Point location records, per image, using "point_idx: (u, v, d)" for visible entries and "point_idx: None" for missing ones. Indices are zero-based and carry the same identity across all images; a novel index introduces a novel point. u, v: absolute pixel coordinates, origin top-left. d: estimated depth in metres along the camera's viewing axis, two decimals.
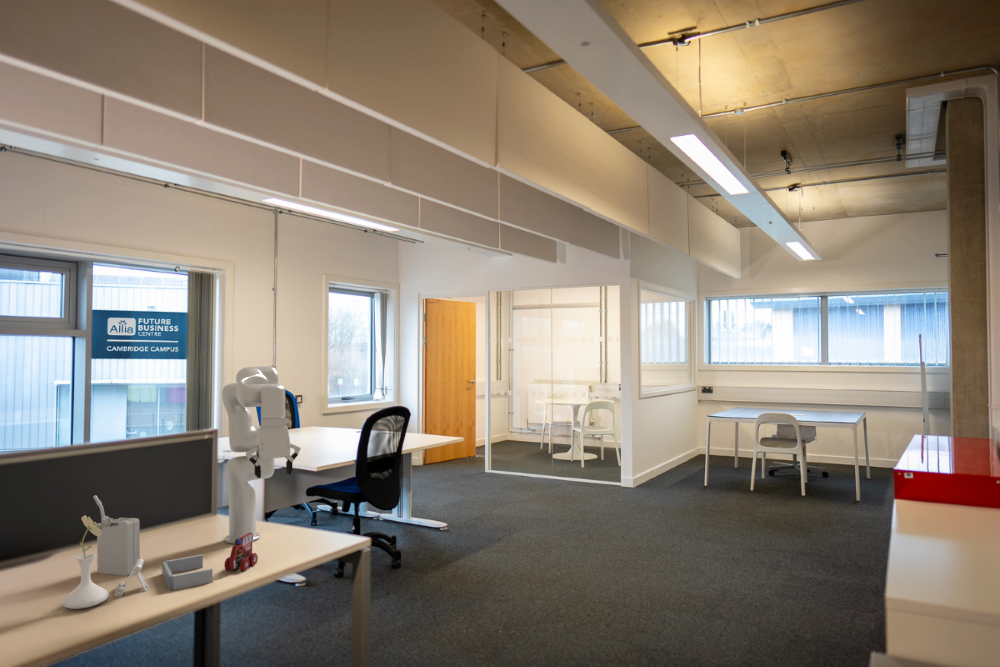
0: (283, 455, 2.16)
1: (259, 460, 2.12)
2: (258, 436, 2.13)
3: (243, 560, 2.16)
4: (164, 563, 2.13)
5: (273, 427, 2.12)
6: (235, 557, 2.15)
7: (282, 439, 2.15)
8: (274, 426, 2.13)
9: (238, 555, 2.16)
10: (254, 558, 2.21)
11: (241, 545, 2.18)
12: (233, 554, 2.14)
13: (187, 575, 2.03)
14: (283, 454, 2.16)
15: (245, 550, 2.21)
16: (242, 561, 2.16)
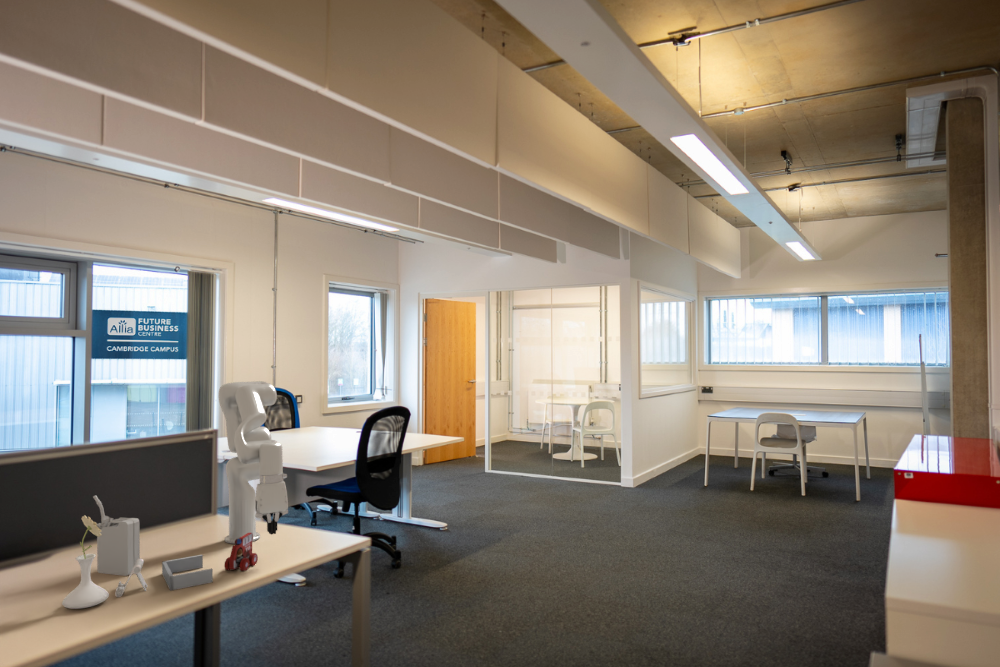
0: (281, 510, 2.25)
1: (268, 517, 2.23)
2: (257, 492, 2.23)
3: (243, 560, 2.16)
4: (164, 563, 2.13)
5: (271, 483, 2.22)
6: (235, 557, 2.15)
7: (280, 494, 2.25)
8: (272, 482, 2.22)
9: (238, 555, 2.16)
10: (254, 558, 2.21)
11: (241, 545, 2.18)
12: (233, 554, 2.14)
13: (187, 575, 2.03)
14: (281, 509, 2.25)
15: (245, 550, 2.21)
16: (242, 561, 2.16)
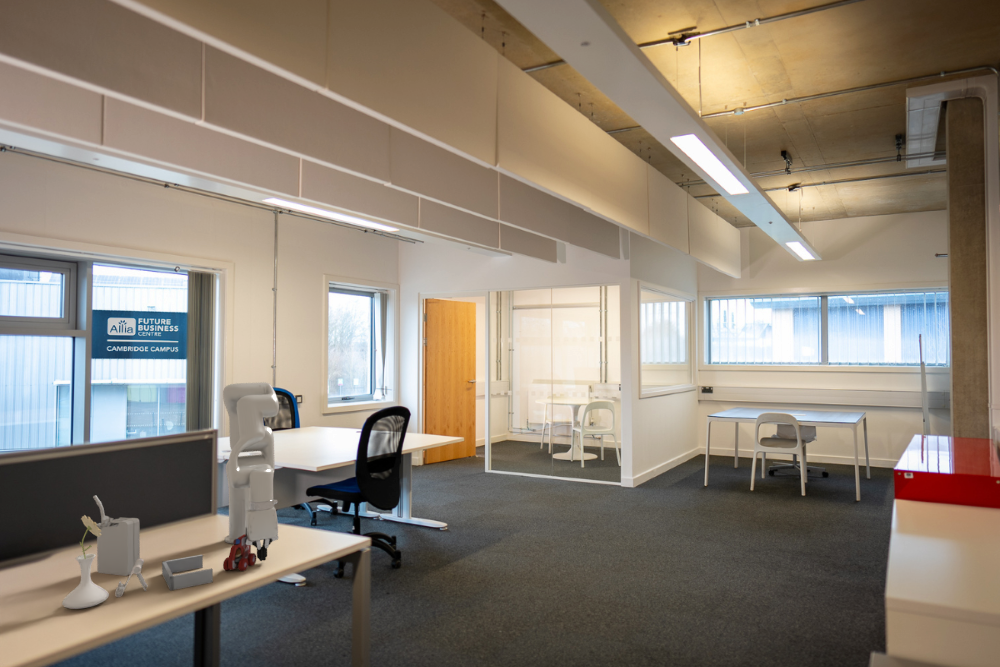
0: (271, 536, 2.23)
1: (258, 544, 2.22)
2: (247, 519, 2.21)
3: (242, 560, 2.16)
4: (164, 563, 2.13)
5: (261, 510, 2.20)
6: (234, 557, 2.15)
7: (270, 521, 2.23)
8: (262, 509, 2.20)
9: (237, 555, 2.16)
10: (252, 558, 2.21)
11: (240, 545, 2.18)
12: (232, 554, 2.14)
13: (187, 575, 2.03)
14: (271, 535, 2.23)
15: (244, 550, 2.20)
16: (241, 561, 2.16)
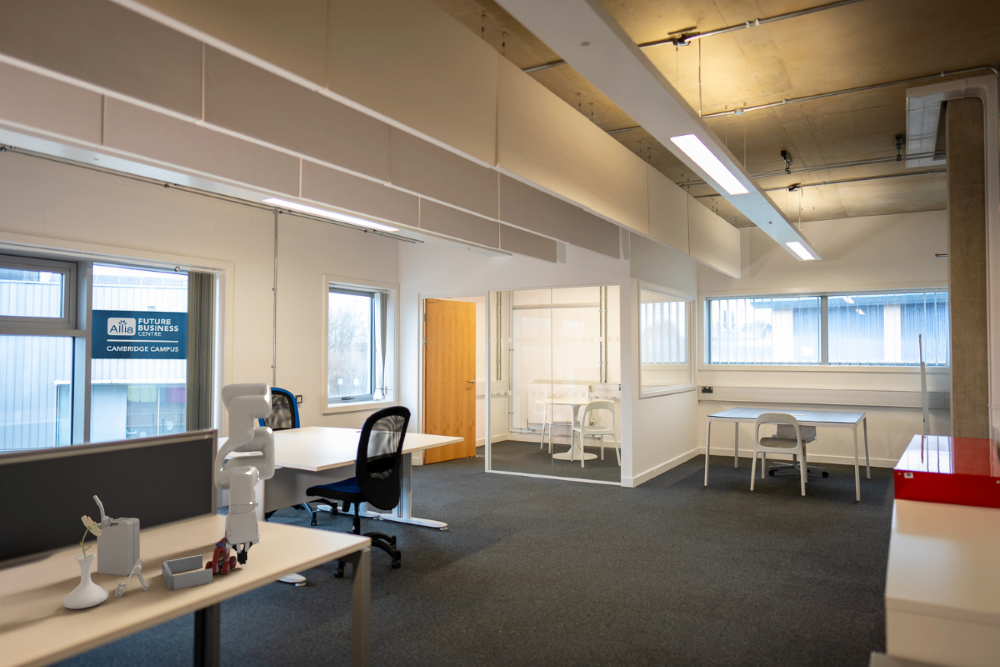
0: (251, 539, 2.20)
1: (238, 547, 2.18)
2: (226, 522, 2.17)
3: (225, 563, 2.13)
4: (164, 563, 2.13)
5: (241, 513, 2.17)
6: (217, 560, 2.11)
7: (251, 524, 2.20)
8: (242, 512, 2.17)
9: (220, 558, 2.13)
10: (234, 561, 2.19)
11: (222, 548, 2.15)
12: (216, 557, 2.11)
13: (187, 575, 2.03)
14: (251, 539, 2.20)
15: (225, 553, 2.17)
16: (224, 564, 2.13)
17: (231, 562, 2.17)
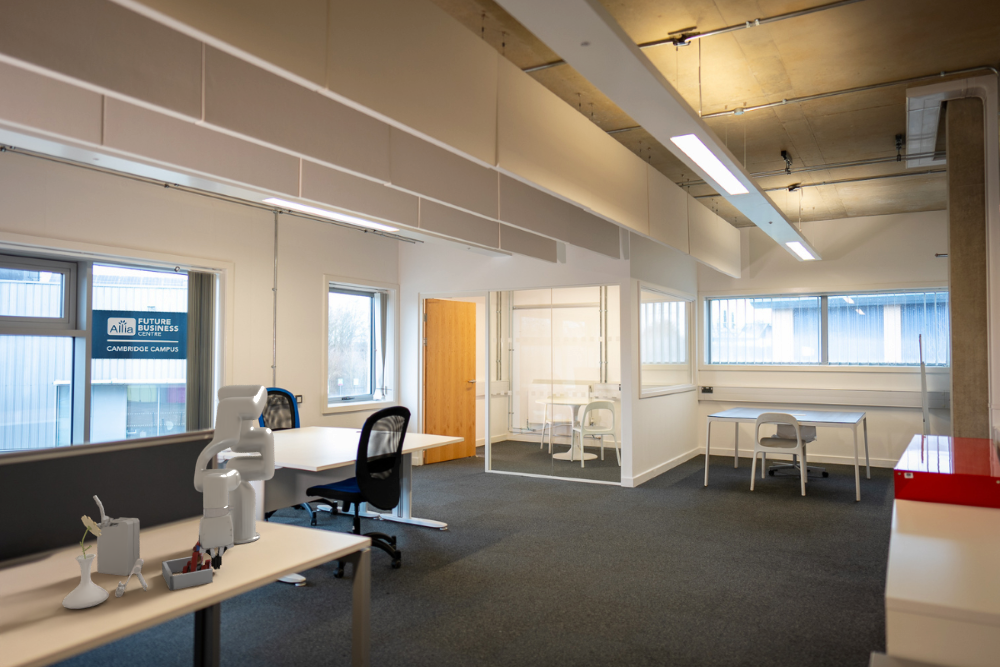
0: (226, 544, 2.15)
1: (212, 552, 2.14)
2: (200, 526, 2.13)
3: (204, 566, 2.10)
4: (164, 563, 2.13)
5: (215, 517, 2.12)
6: (196, 564, 2.08)
7: (225, 528, 2.15)
8: (216, 516, 2.12)
9: (198, 562, 2.10)
10: (209, 564, 2.16)
11: None
12: (195, 561, 2.08)
13: (187, 575, 2.03)
14: (226, 543, 2.15)
15: (200, 557, 2.14)
16: (203, 568, 2.10)
17: (207, 565, 2.14)
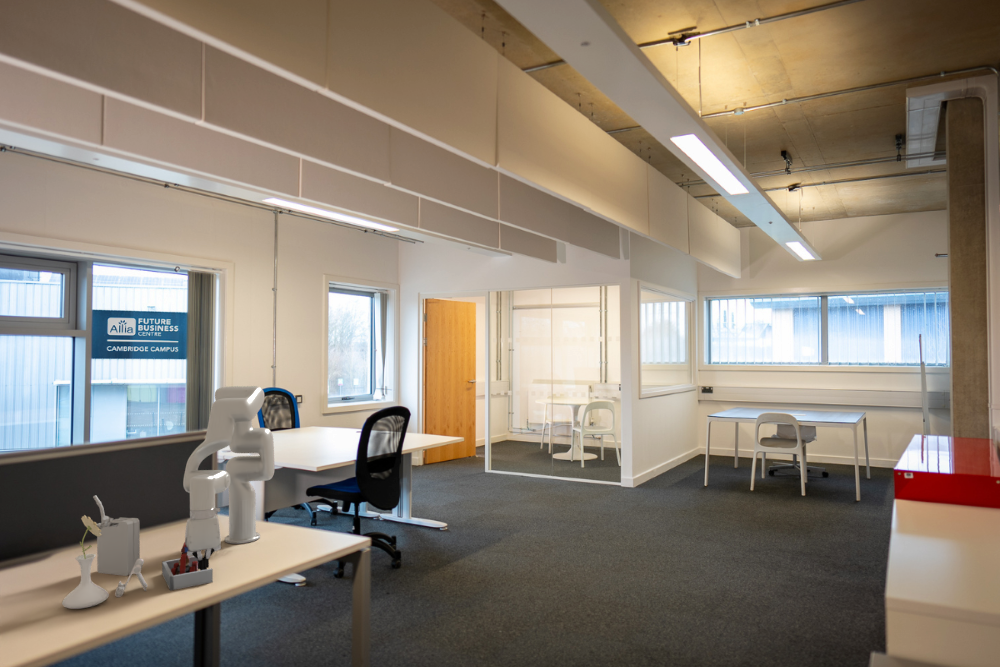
0: (213, 546, 2.13)
1: (199, 554, 2.11)
2: (186, 528, 2.11)
3: (192, 568, 2.09)
4: (164, 563, 2.13)
5: (202, 519, 2.10)
6: (185, 566, 2.07)
7: (212, 530, 2.13)
8: (203, 518, 2.10)
9: (186, 564, 2.08)
10: (197, 566, 2.14)
11: None
12: (184, 563, 2.06)
13: (187, 575, 2.03)
14: (213, 545, 2.13)
15: (188, 559, 2.12)
16: (192, 569, 2.08)
17: (195, 567, 2.13)
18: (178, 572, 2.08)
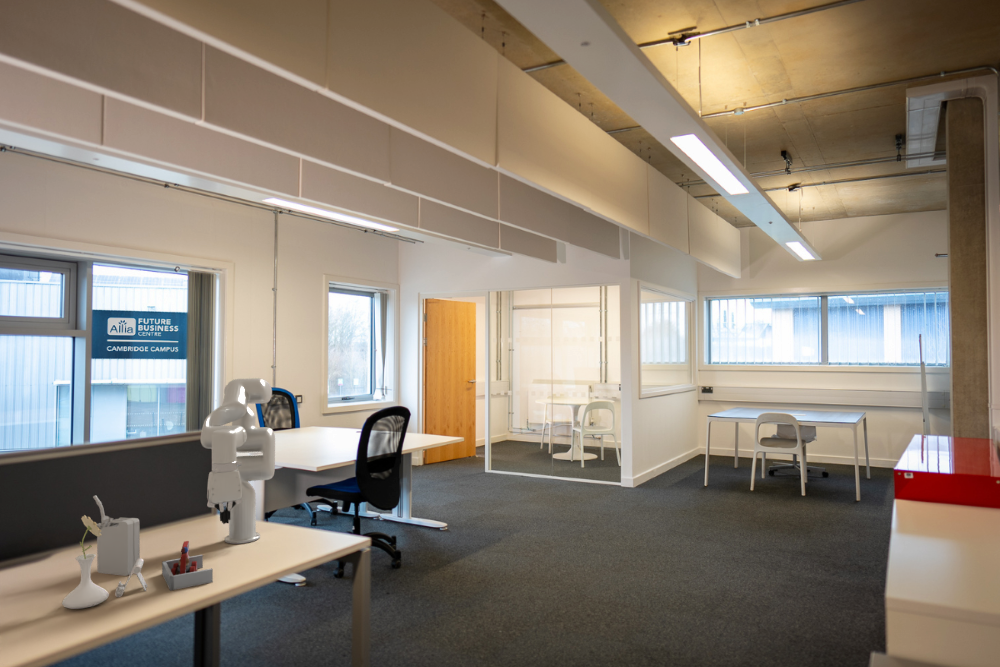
0: (234, 499, 2.18)
1: (221, 506, 2.16)
2: (209, 481, 2.15)
3: (192, 568, 2.09)
4: (164, 563, 2.13)
5: (223, 472, 2.14)
6: (185, 566, 2.07)
7: (233, 483, 2.17)
8: (224, 471, 2.14)
9: (186, 564, 2.08)
10: (196, 566, 2.14)
11: (186, 553, 2.10)
12: (184, 563, 2.06)
13: (187, 575, 2.03)
14: (234, 498, 2.18)
15: (187, 559, 2.12)
16: (192, 569, 2.09)
17: (194, 567, 2.13)
18: (178, 572, 2.08)
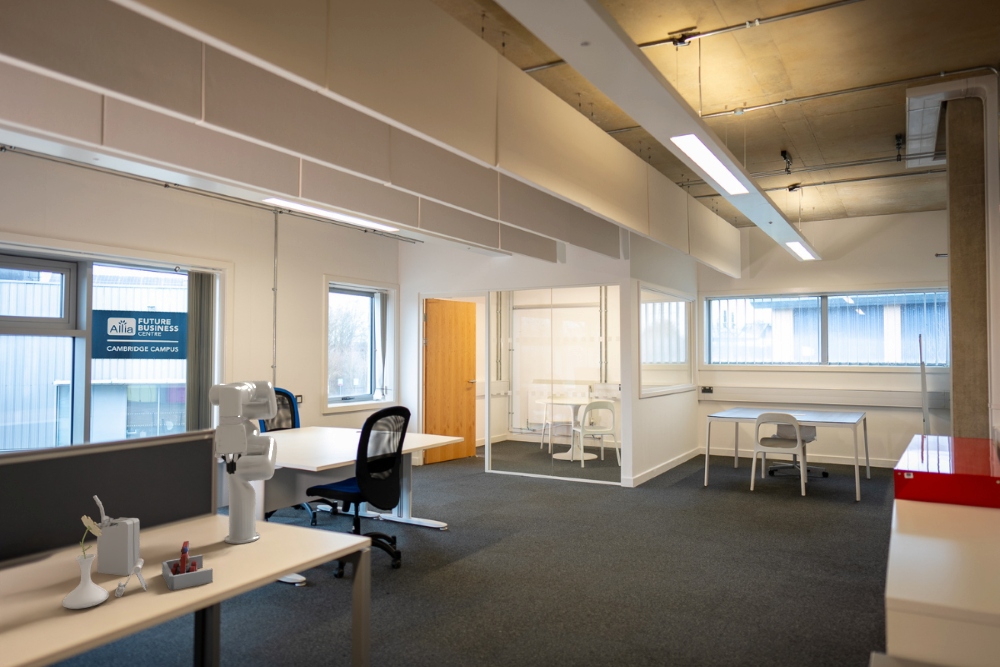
0: (240, 451, 2.32)
1: (227, 457, 2.30)
2: (216, 433, 2.29)
3: (192, 568, 2.09)
4: (164, 563, 2.13)
5: (230, 425, 2.29)
6: (185, 566, 2.07)
7: (239, 436, 2.32)
8: (231, 424, 2.29)
9: (186, 564, 2.08)
10: (196, 566, 2.14)
11: None
12: (184, 563, 2.06)
13: (187, 575, 2.03)
14: (240, 450, 2.32)
15: (187, 559, 2.12)
16: (192, 569, 2.09)
17: (194, 567, 2.13)
18: (178, 572, 2.08)
